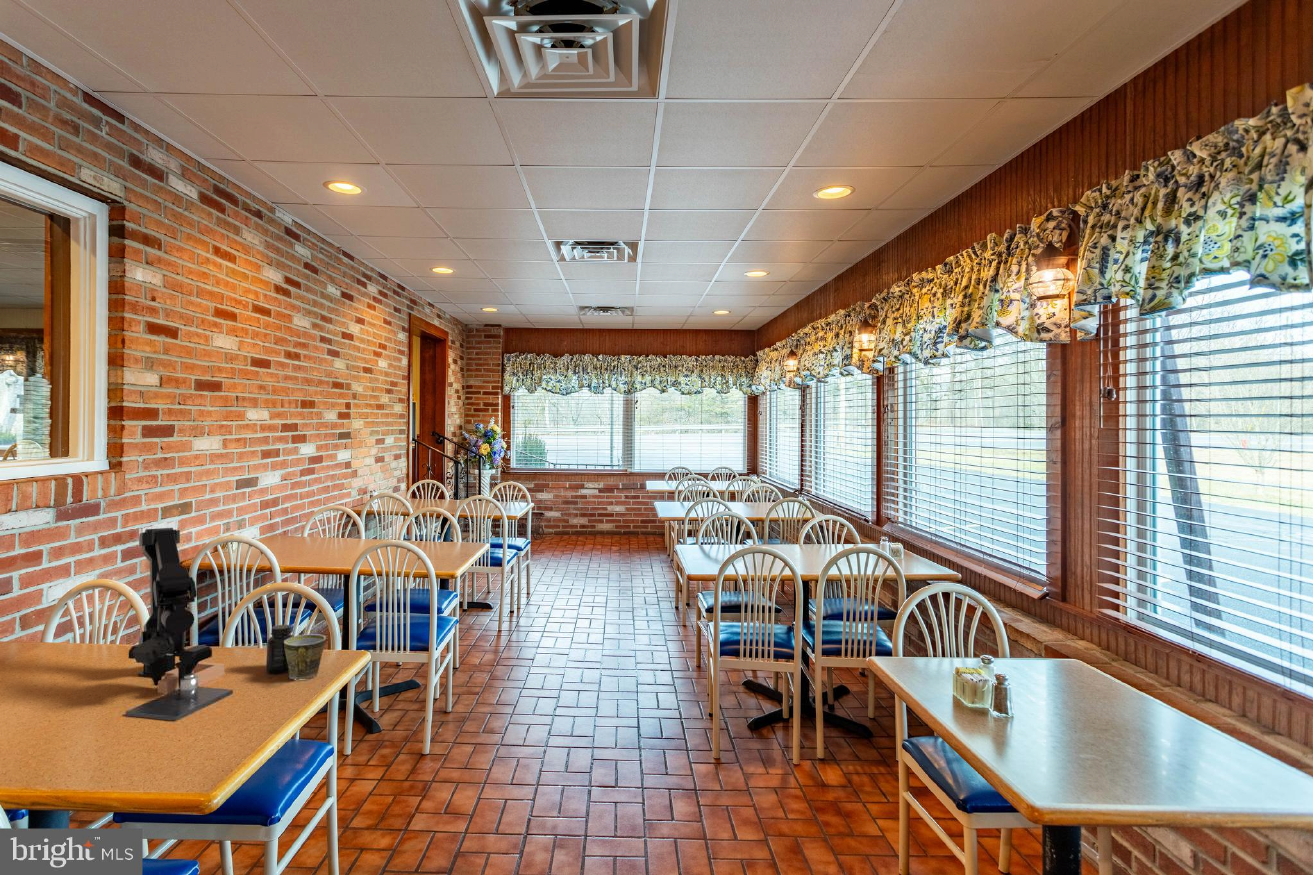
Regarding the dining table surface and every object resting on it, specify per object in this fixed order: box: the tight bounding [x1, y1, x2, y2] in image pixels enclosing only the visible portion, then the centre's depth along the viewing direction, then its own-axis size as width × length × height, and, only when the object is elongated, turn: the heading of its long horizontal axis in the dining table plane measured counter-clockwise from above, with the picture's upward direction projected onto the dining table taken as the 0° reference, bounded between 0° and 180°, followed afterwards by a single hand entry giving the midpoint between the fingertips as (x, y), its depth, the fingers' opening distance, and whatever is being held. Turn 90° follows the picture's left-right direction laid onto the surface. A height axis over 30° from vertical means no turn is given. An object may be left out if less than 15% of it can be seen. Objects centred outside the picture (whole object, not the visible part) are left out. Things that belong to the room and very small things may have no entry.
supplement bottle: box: [265, 624, 295, 675], centre depth 176 cm, size 7×7×12 cm
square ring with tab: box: [157, 661, 225, 695], centre depth 165 cm, size 9×14×3 cm, turn 172°
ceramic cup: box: [284, 633, 327, 680], centre depth 171 cm, size 13×10×10 cm
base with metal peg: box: [125, 673, 234, 722], centre depth 152 cm, size 13×16×6 cm
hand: (169, 686), depth 160 cm, fingers open, 7 cm apart
